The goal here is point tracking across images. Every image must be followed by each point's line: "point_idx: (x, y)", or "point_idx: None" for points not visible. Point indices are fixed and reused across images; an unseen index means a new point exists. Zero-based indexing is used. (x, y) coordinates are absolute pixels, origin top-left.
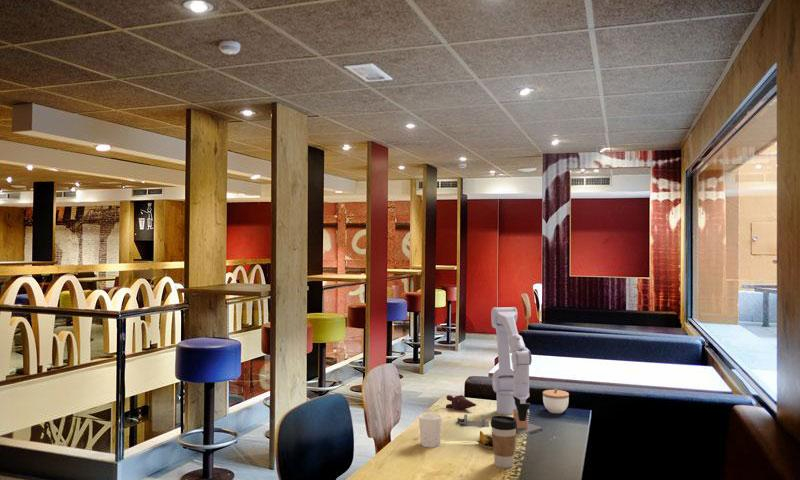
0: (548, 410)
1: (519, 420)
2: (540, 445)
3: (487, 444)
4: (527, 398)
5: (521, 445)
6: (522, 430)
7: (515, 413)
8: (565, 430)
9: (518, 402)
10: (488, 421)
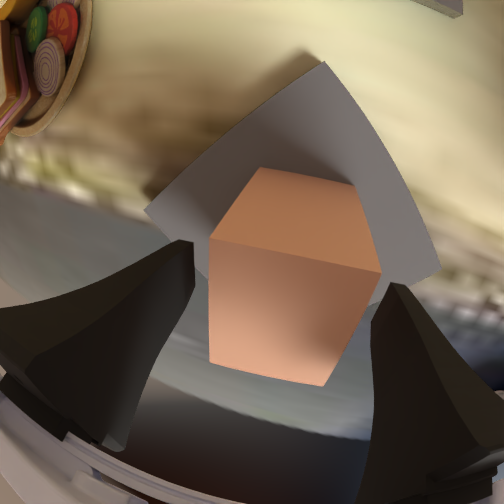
0: (498, 392)
1: (176, 240)
2: (63, 248)
3: (27, 21)
4: (357, 494)
5: (40, 169)
6: (202, 220)
7: (213, 249)
8: (267, 393)
9: (24, 382)
10: (457, 10)
